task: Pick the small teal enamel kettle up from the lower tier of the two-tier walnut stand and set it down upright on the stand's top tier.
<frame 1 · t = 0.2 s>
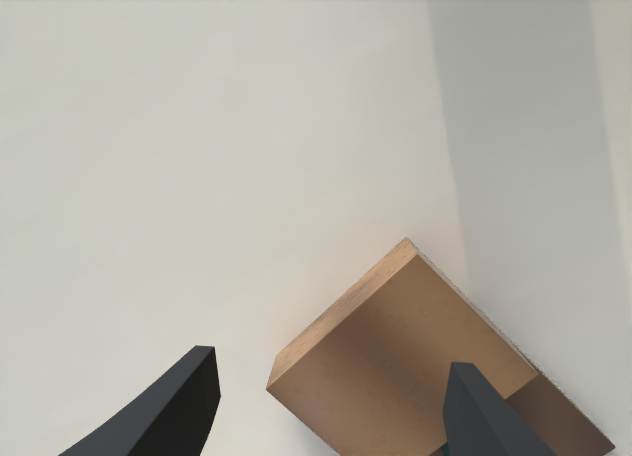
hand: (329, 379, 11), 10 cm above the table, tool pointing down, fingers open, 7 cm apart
tier stand: (439, 396, 23), on the table
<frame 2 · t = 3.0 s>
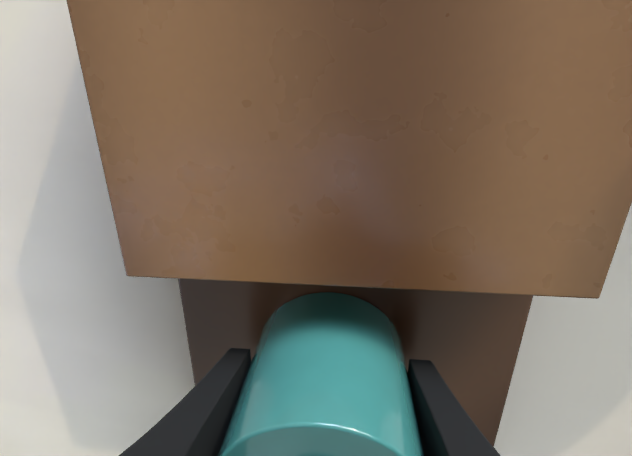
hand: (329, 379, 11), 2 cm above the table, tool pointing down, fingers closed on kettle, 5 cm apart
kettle: (329, 352, 12), point 1 cm above the table, touching gripper, tier stand
tier stand: (350, 234, 11), on the table
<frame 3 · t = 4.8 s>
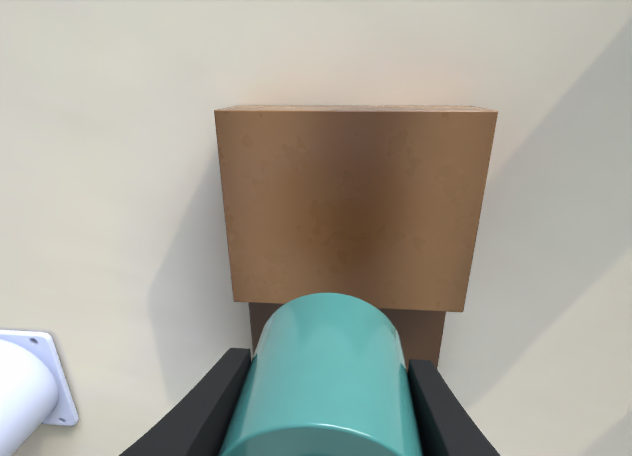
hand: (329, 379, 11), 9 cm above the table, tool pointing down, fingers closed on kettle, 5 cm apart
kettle: (329, 352, 12), point 8 cm above the table, touching gripper
tier stand: (346, 274, 20), on the table
when the fingers open (4 cm above the table, at t = 6.8 s): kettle stays where it is, resting on tier stand.
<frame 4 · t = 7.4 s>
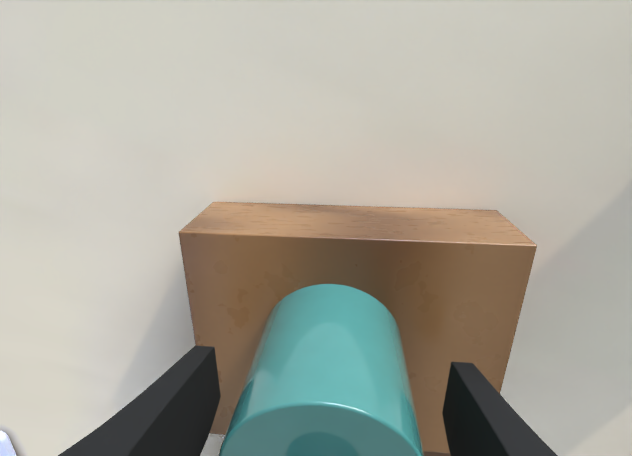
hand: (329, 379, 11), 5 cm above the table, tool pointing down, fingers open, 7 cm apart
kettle: (331, 342, 13), point 3 cm above the table, touching tier stand
tier stand: (343, 383, 17), on the table
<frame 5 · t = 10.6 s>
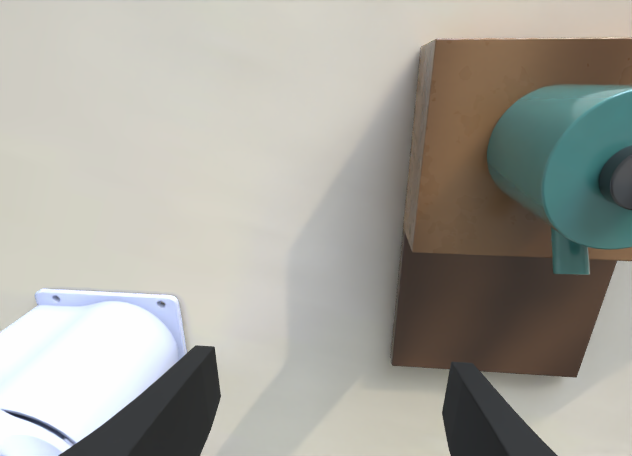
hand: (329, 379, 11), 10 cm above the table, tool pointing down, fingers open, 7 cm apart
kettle: (547, 147, 15), point 3 cm above the table, touching tier stand
tier stand: (506, 231, 20), on the table
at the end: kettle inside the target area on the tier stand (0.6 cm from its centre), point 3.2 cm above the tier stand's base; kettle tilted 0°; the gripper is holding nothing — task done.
